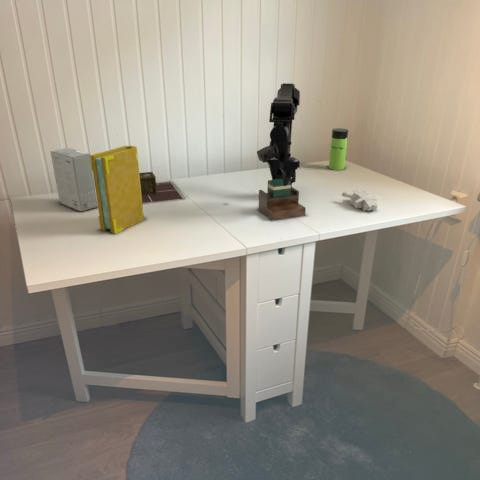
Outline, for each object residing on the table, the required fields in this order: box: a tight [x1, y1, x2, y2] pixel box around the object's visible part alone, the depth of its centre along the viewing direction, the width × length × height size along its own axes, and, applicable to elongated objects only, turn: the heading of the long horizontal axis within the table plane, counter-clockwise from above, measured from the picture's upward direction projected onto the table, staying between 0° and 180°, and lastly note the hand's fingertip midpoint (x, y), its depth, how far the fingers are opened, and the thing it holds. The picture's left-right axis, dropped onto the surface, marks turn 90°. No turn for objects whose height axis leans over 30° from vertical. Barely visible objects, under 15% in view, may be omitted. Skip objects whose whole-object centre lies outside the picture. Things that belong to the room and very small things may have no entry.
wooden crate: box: [139, 171, 158, 197], centre depth 210 cm, size 7×7×7 cm
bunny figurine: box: [341, 189, 378, 212], centre depth 197 cm, size 10×5×15 cm
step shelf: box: [258, 186, 307, 221], centre depth 190 cm, size 13×12×8 cm
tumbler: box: [328, 127, 349, 171], centre depth 240 cm, size 8×8×17 cm
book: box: [90, 145, 145, 235], centre depth 175 cm, size 17×7×25 cm, turn 148°
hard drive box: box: [50, 147, 98, 212], centre depth 193 cm, size 16×8×20 cm, turn 47°
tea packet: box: [266, 179, 291, 198], centre depth 189 cm, size 7×5×5 cm
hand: (279, 182), depth 188 cm, fingers open, 9 cm apart
